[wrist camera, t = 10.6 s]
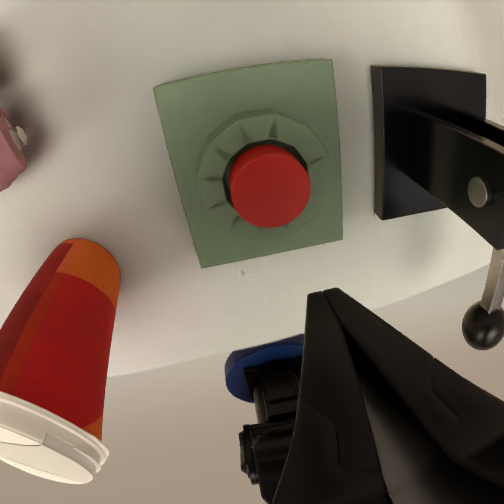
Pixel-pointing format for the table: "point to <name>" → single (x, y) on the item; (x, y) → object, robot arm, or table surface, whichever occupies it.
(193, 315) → the table surface
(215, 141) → the control block
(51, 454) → the paper cup
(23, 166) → the pink toy car
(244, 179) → the button
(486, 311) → the lever
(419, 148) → the bracket
